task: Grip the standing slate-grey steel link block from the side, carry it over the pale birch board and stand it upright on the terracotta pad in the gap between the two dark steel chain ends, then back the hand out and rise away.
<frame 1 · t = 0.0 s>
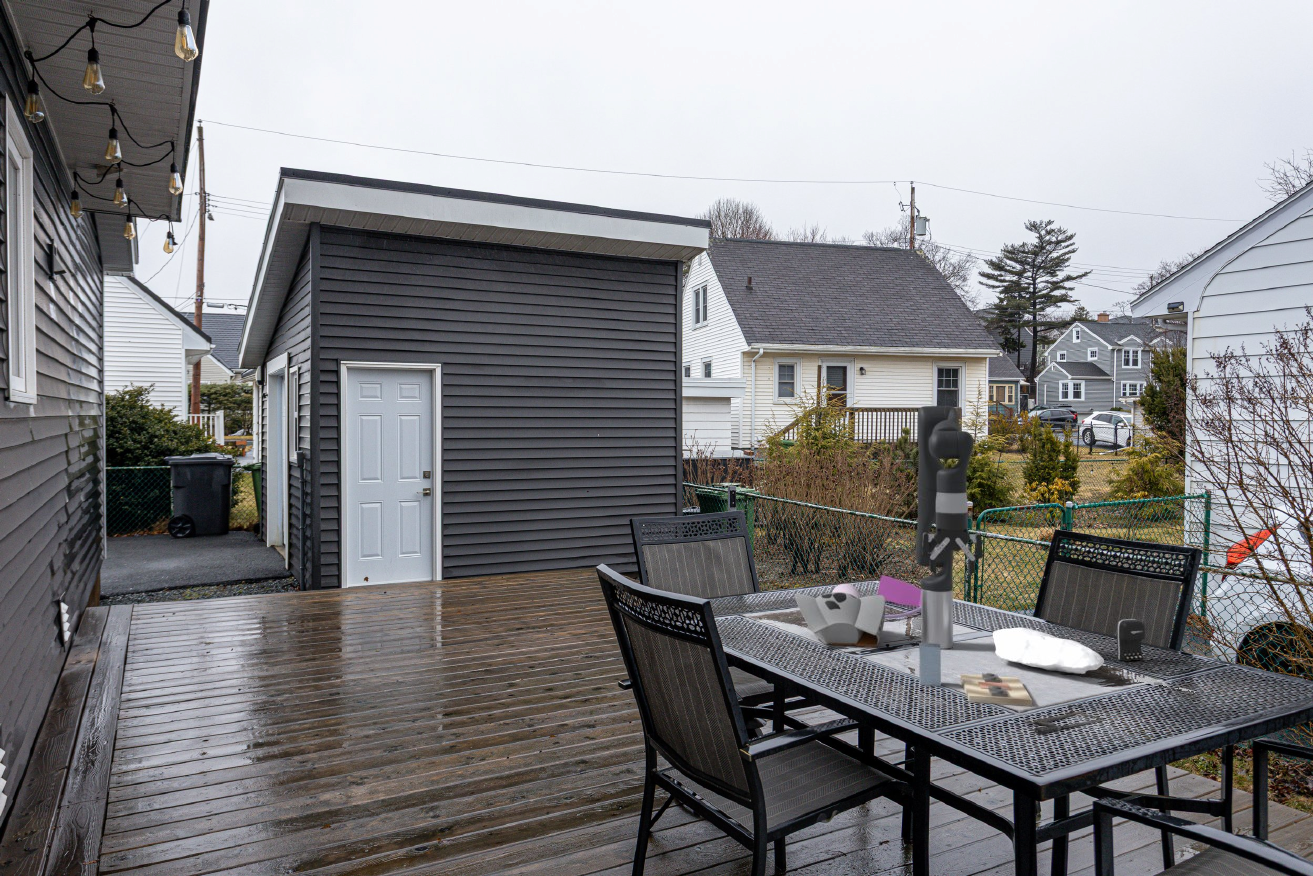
hand: (952, 574, 203), 29 cm above the table, fingers open, 8 cm apart
crumpled cloth: (1048, 666, 224), on the table
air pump: (880, 614, 292), on the table
hacksaw: (1058, 721, 182), on the table
pliers: (1166, 692, 202), on the table
chain board: (994, 692, 201), on the table
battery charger: (1131, 661, 229), on the table
link block: (930, 683, 209), on the table
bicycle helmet: (840, 640, 255), on the table
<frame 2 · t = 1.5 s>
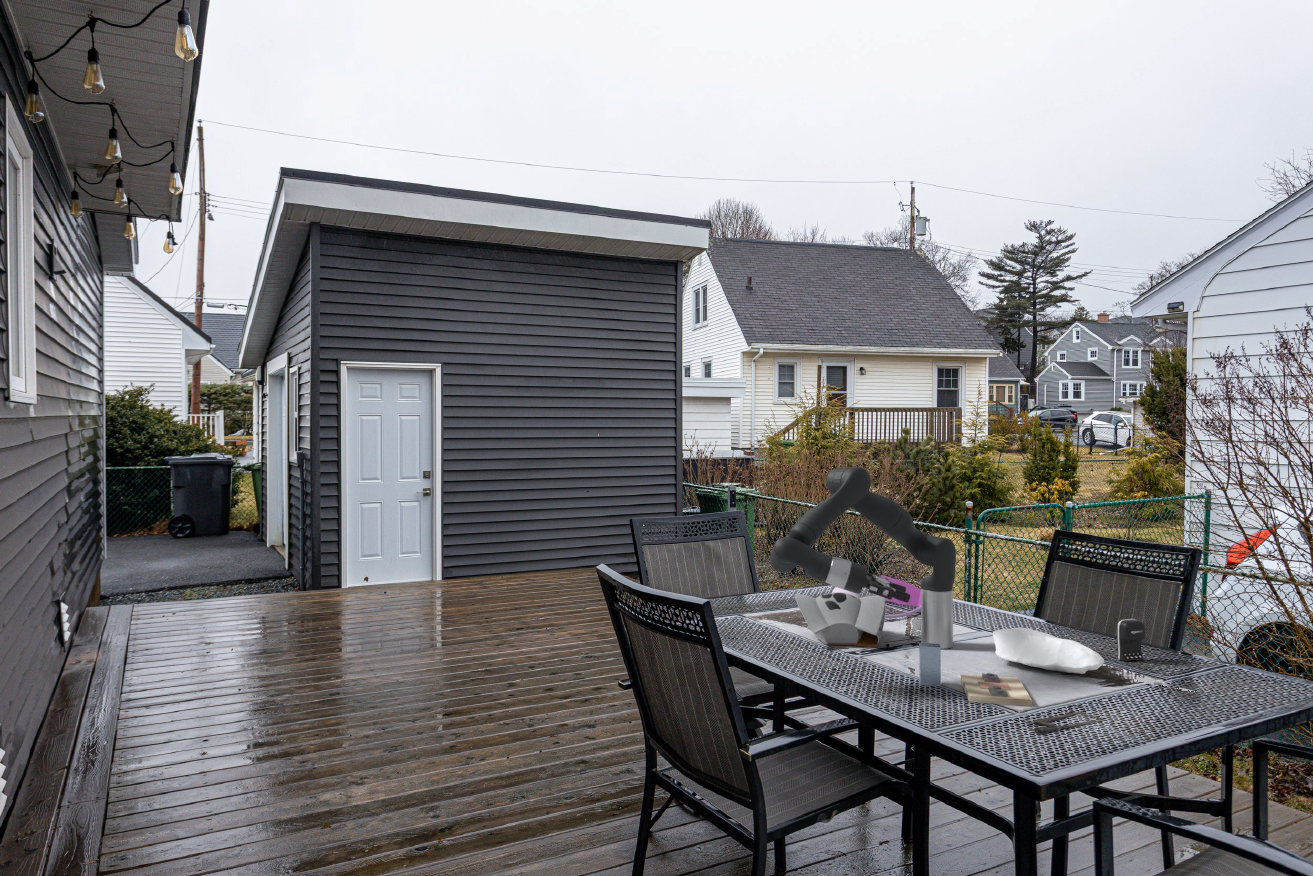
hand: (907, 595, 208), 23 cm above the table, fingers open, 8 cm apart
nothing on the table moved.
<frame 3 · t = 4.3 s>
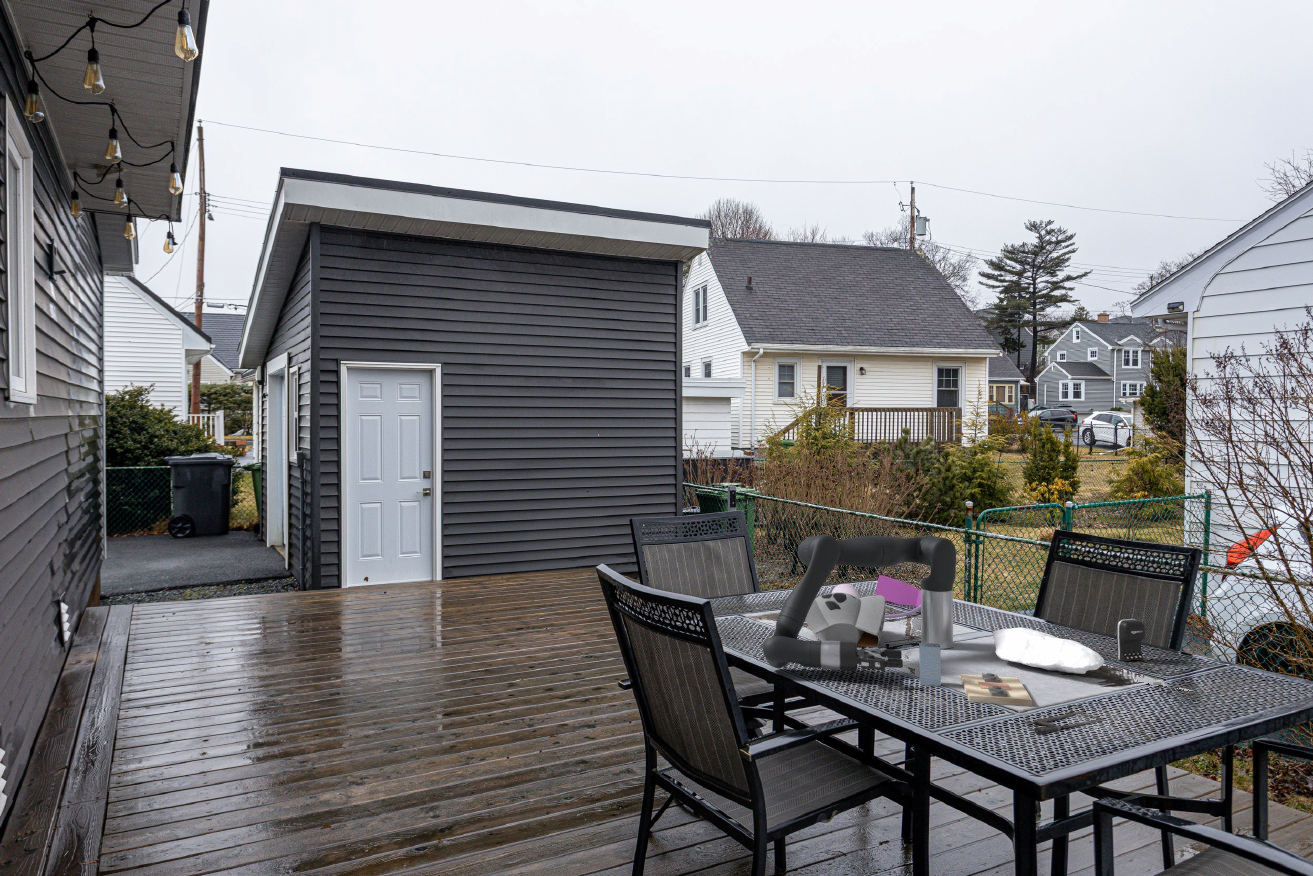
hand: (902, 659, 211), 6 cm above the table, fingers open, 8 cm apart
nothing on the table moved.
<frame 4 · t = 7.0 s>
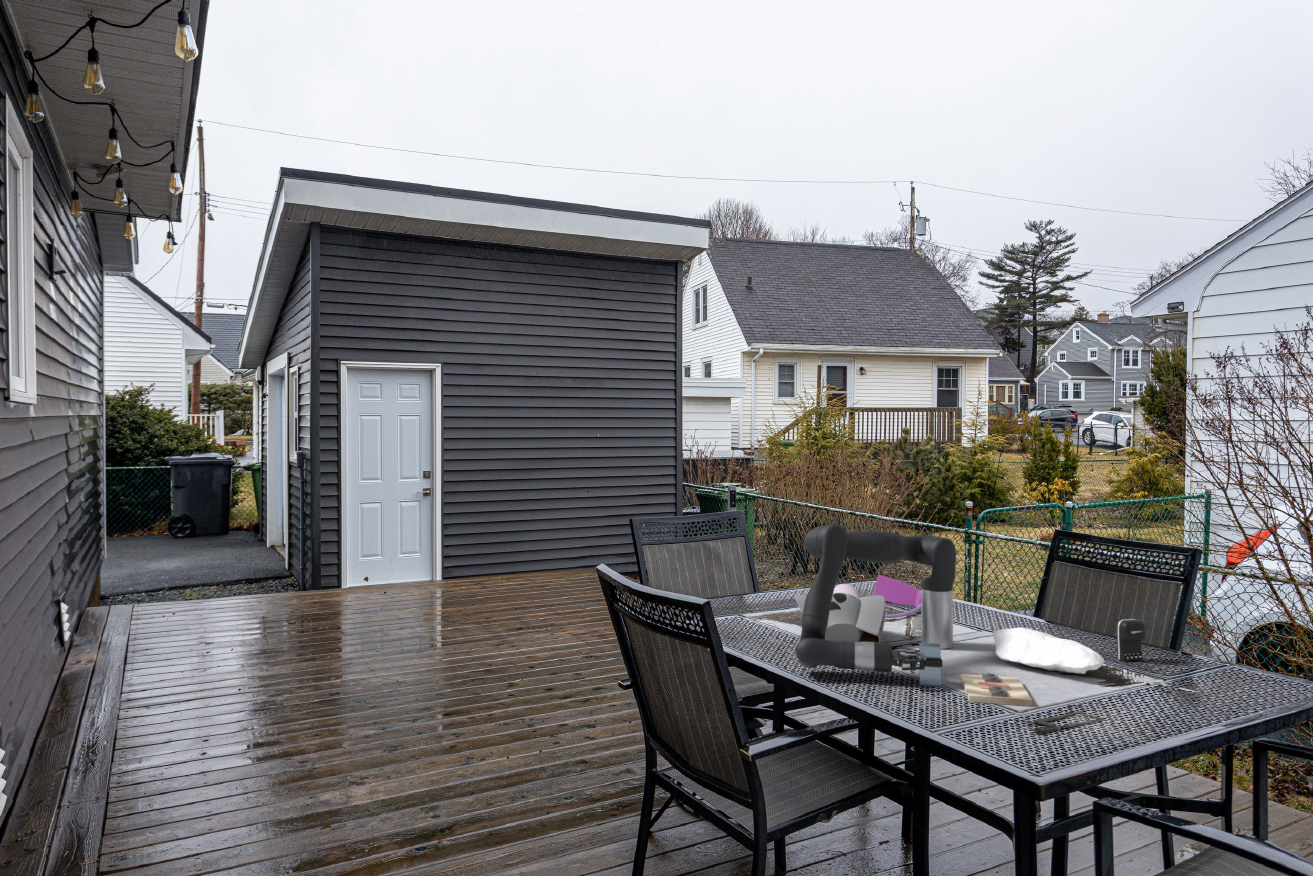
hand: (941, 660, 208), 6 cm above the table, fingers closed on link block, 3 cm apart
link block: (930, 683, 209), on the table, touching gripper
everything else where it was.
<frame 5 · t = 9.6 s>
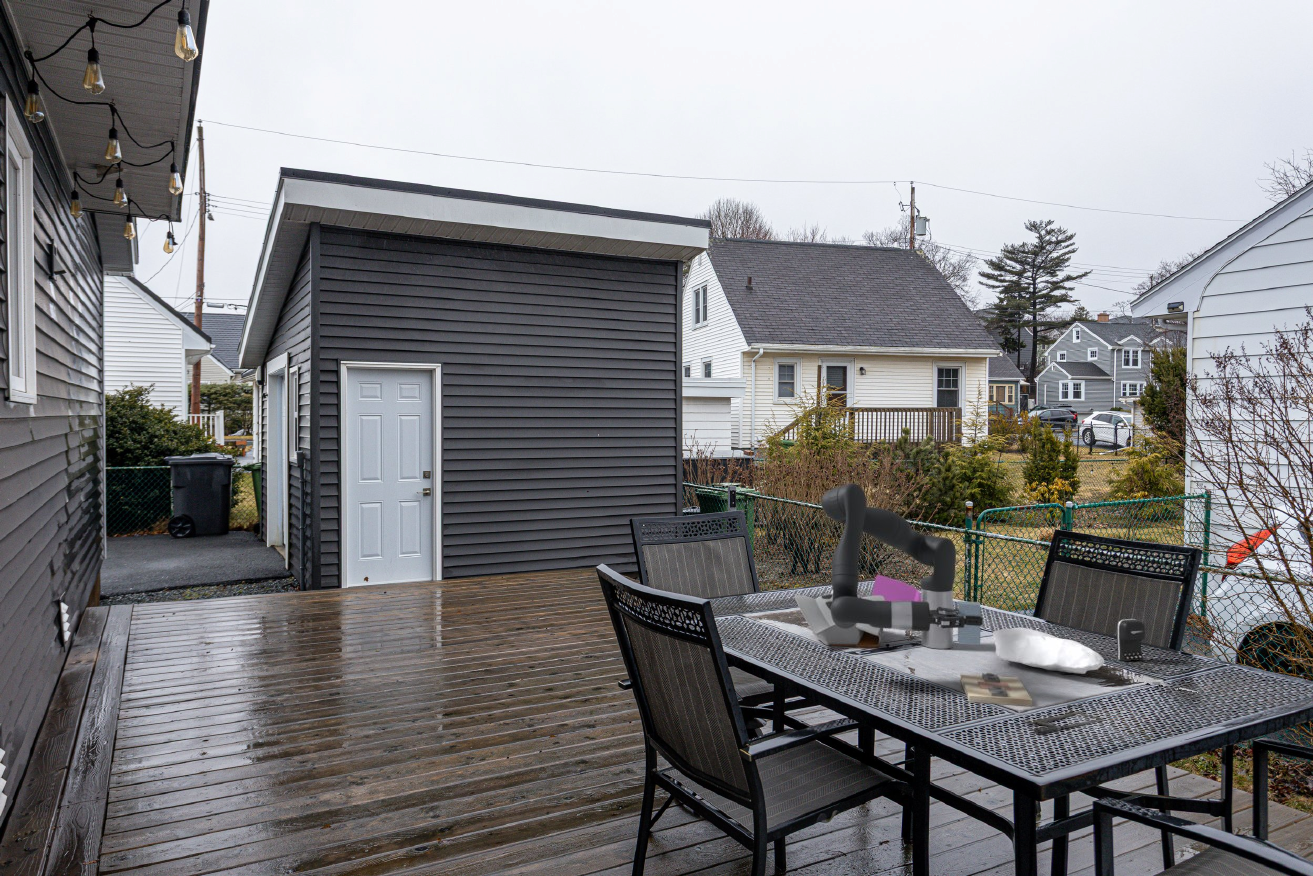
hand: (980, 619, 203), 18 cm above the table, fingers closed on link block, 3 cm apart
link block: (969, 642, 204), point 12 cm above the table, touching gripper
when the fingers open (9 cm above the table, at t = 12.5 s): link block drops 1 cm, resting on chain board.
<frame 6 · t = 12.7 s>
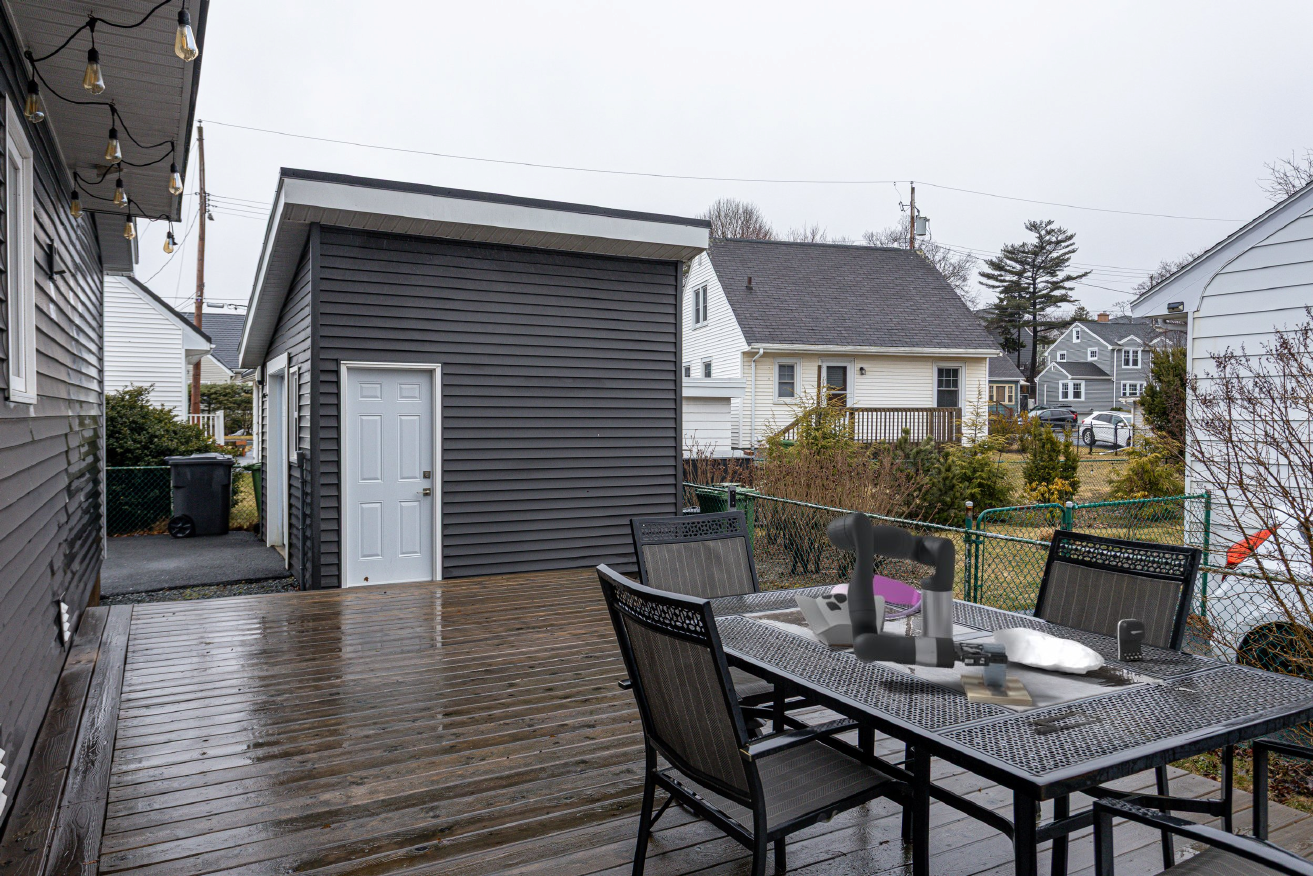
hand: (1005, 656, 201), 9 cm above the table, fingers open, 5 cm apart
link block: (994, 685, 201), point 2 cm above the table, touching chain board
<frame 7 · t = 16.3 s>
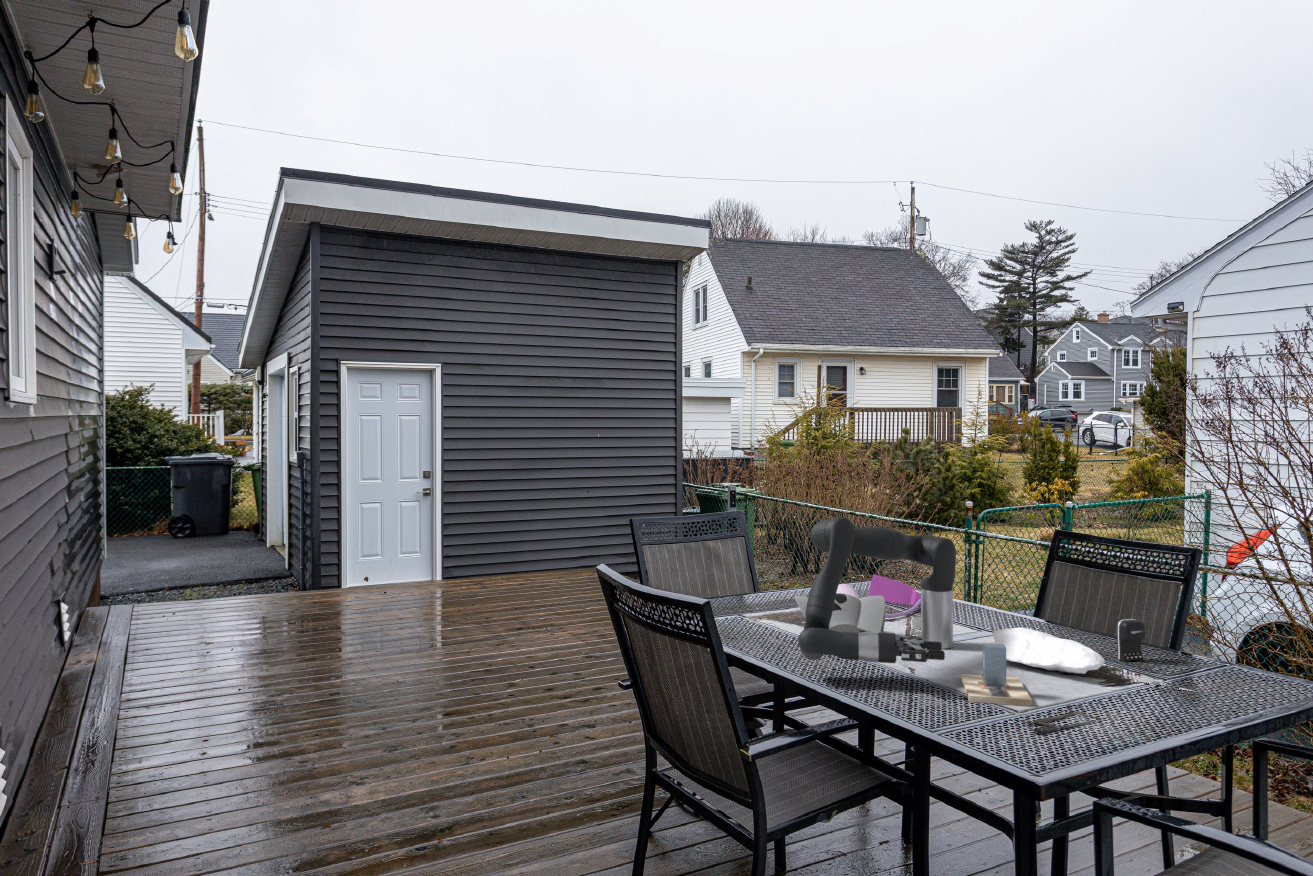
hand: (942, 650, 205), 10 cm above the table, fingers open, 8 cm apart
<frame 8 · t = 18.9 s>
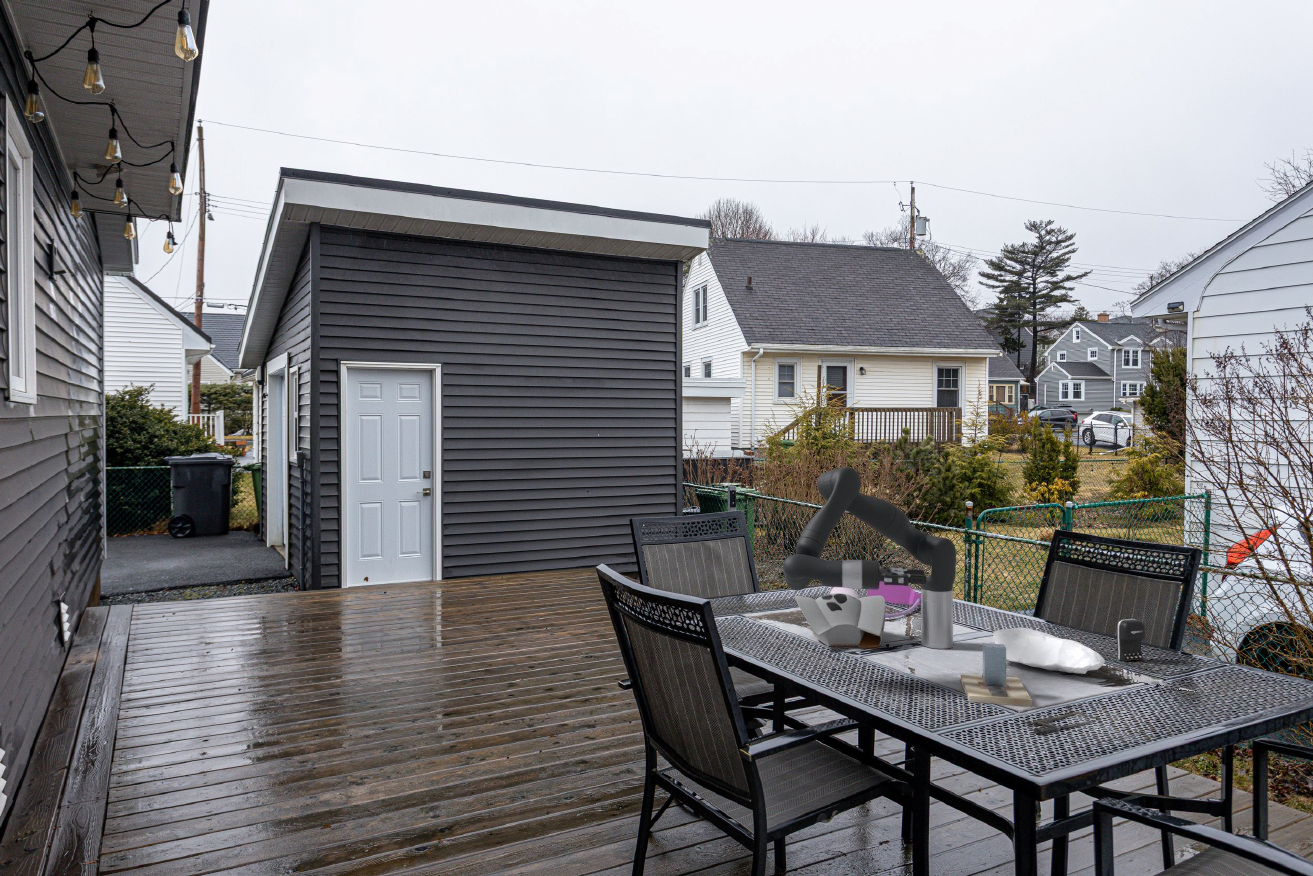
hand: (925, 576, 207), 28 cm above the table, fingers open, 8 cm apart
at the end: link block 0.0 cm off-centre on the chain board, point 1.7 cm above the chain board's base; link block tilted 0°; the gripper is holding nothing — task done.
